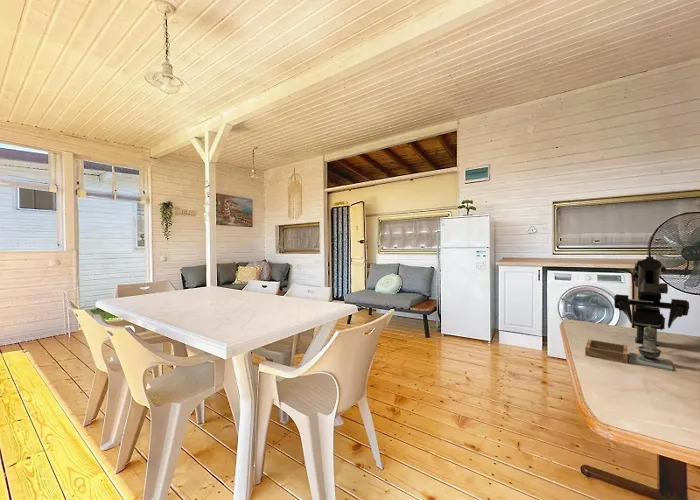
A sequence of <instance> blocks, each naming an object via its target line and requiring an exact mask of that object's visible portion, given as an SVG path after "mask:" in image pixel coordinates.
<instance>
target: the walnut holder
mask: <svg viewBox="0 0 700 500" xmlns="http://www.w3.org/2000/svg"><path fill="white" fill-rule="evenodd" d="M584 347H585V348H584V349H585V351H584V352H585V353H584V354H585V356H587V357H591V358H596V359H600V360H601V359H602V360H606V361H611V360H612V362H616V361H617V363H621V362H622V363H623V364H628V348H629V347H628V345H625V344H619V343H613V342H606V341H602V340H594V339H587V342H586V344H585V346H584Z"/></svg>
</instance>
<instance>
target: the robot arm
mask: <svg viewBox="0 0 700 500" xmlns="http://www.w3.org/2000/svg"><path fill="white" fill-rule="evenodd" d="M666 270H667V268H666V267H665V266H664V265H663V263H661V261H660V260H658V259H655V258H654V256H646V257H645V258H644V259H641V260H639V259H638V260H637V262H634V267H633V268H632V282H634V287H636V288H637V295H638V297H637V298H638V299H633V298H629V297H630V295H629V294H615V295H614V299H613V300H614V302H613V303H614V309H618V310H619V311H621V312H623V313H624V314H625V315H626V318H627V319H628V321H629V323H630V324H632V327H636V337H634V341H635V343H636V344H637V343H638V344H643V338H642V337H643V336H644V328H645V327H648V326H649V324H650V325H651V327H652V328H654V329H655V330H656V338H657V340H656V347H659V346H660V344H659V341H658V330H661V331H663V330H665V325H666V324H665V323H666V318H665V316H664V314H663V313H661V309H665V310H670V311H669V316H668V321H667V322H668V323H667V329H670V328H671V327H672V325H673V324H674V321H675V320H676V319H677V318H682V317H683V316H685V317H686V316H688V313H689V310H690V302H689V301H688V300H686V299H679V298H677V299H676V298H671V301H670V302H661V300H662V294H666V295H667V294H668V291H669V290H668V289H669V287H668V286H669V285H668V283H667V282H666V283H665V282H663V283H661V282H660V278H661V275H662V274H663V273H664V272H665V271H666ZM631 306H634V310H631Z"/></svg>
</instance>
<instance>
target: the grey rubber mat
mask: <svg viewBox="0 0 700 500" xmlns="http://www.w3.org/2000/svg"><path fill="white" fill-rule="evenodd" d="M640 356H643V355H641V354H640V353H634V352H629V353H628V357H629V358H628V360H629V362H630V364H635V365H640V366H646V367H650V368H656V369H661V370H666V371H670V372H674V367H673V365H672V362H671V359H669V358H665V357H660V356H659V357H657V358H656V359H658V360H659V361H660V363H651V362H646V361H643V360H640V359H639V358H638V357H640Z"/></svg>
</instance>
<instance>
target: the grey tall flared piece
mask: <svg viewBox="0 0 700 500" xmlns="http://www.w3.org/2000/svg"><path fill="white" fill-rule="evenodd" d="M642 338H643V343H642V345H639V346H637V347H636V348H637V349H638V352H639V354H641V355H643V356H640V357H638V358H639V359H640V360H643V361H646V362H651V363H660V361H659V360H658V359H656V358H657V357H659V358H660V356H661V353H662V350H661V349H659V348H658V346H656V340H657V341H658V337H657V338H656V330H655V329H654V328H652V327H651V325H650V324H649V326H648V327H645V328H644V336H643V337H642Z"/></svg>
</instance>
